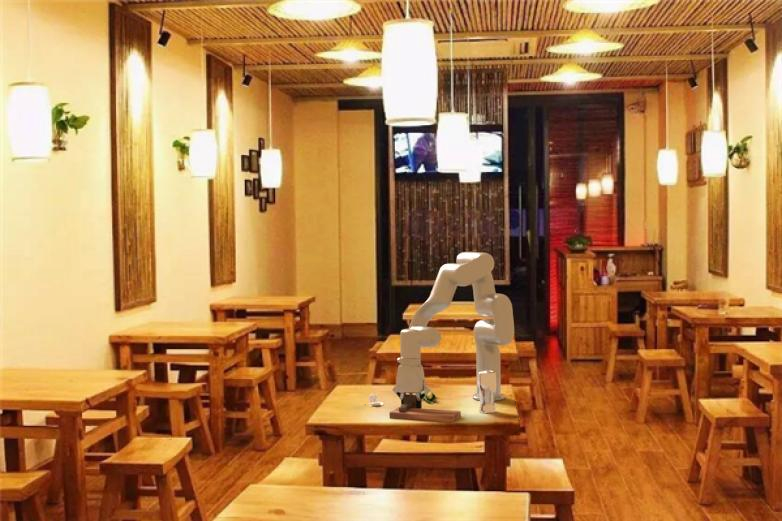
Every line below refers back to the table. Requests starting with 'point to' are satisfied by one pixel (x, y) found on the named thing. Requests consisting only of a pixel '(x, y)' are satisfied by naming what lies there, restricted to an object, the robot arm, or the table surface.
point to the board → (426, 414)
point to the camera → (408, 402)
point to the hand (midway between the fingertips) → (411, 409)
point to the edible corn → (429, 397)
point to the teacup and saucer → (374, 400)
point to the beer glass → (487, 390)
